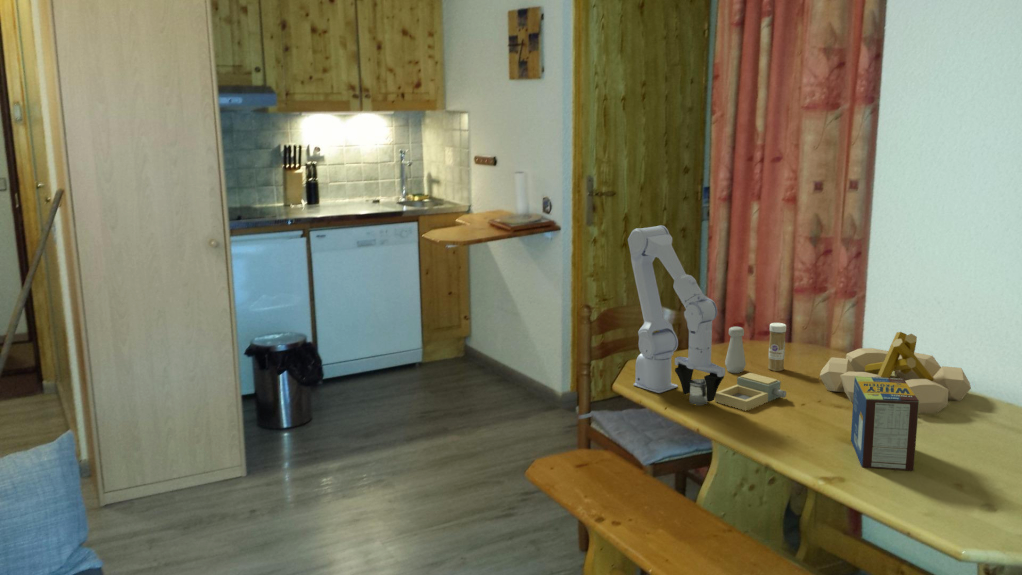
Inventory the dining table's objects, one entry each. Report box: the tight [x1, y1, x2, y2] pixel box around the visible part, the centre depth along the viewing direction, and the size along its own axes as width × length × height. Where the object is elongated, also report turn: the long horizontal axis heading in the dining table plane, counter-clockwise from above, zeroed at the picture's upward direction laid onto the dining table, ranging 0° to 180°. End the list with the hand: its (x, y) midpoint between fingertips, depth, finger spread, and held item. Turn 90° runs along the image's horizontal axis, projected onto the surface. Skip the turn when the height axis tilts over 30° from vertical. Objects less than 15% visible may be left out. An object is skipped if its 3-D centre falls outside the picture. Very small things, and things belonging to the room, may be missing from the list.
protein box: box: [850, 376, 919, 471], centre depth 185 cm, size 10×15×16 cm
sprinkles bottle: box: [767, 322, 787, 372], centre depth 246 cm, size 5×5×14 cm
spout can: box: [688, 378, 709, 406], centre depth 221 cm, size 5×5×6 cm
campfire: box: [819, 331, 972, 414], centre depth 224 cm, size 35×34×17 cm
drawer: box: [714, 372, 787, 412], centre depth 221 cm, size 12×15×5 cm
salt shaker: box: [724, 326, 747, 374], centre depth 245 cm, size 6×6×13 cm
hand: (698, 396), depth 221 cm, fingers open, 7 cm apart
